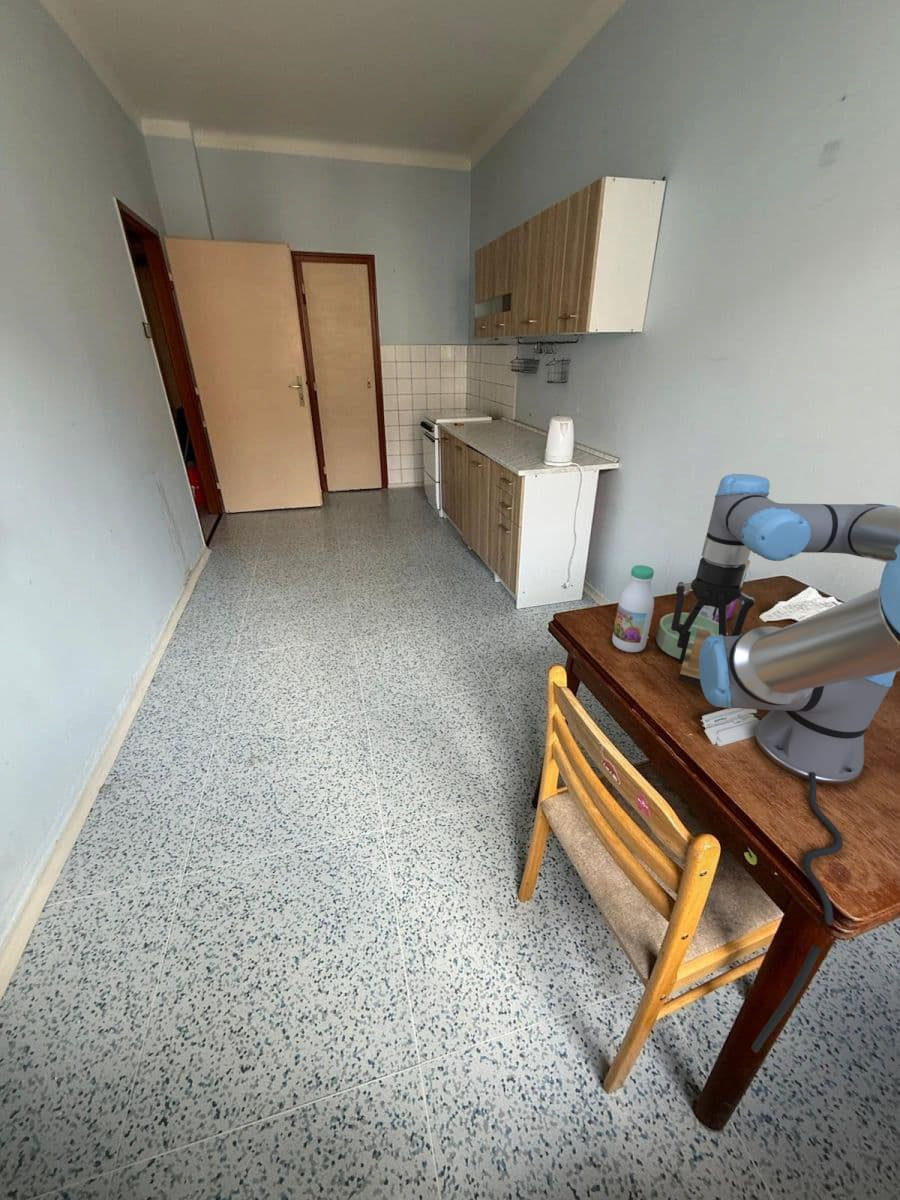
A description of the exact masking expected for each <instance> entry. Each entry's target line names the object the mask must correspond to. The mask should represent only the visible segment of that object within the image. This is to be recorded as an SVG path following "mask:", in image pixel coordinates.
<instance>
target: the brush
mask: <svg viewBox="0 0 900 1200" xmlns="http://www.w3.org/2000/svg"><path fill="white" fill-rule="evenodd" d="M710 632H711V631H707V630H703V629H698V630H697V633H696V637H695V641H694V645H693V649H692V650H689V649H687V650H686V654H685V658H684V661H683V664H681V669H680V673H679V675H678V681H682V682H685V683H690V684H692V685H696V686H700V687H702V686H701V682H700V674H699V657H700V650H701V647H702V644H703V642H704V640H705V639H706V638H707V637H709V636H710Z"/></svg>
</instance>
